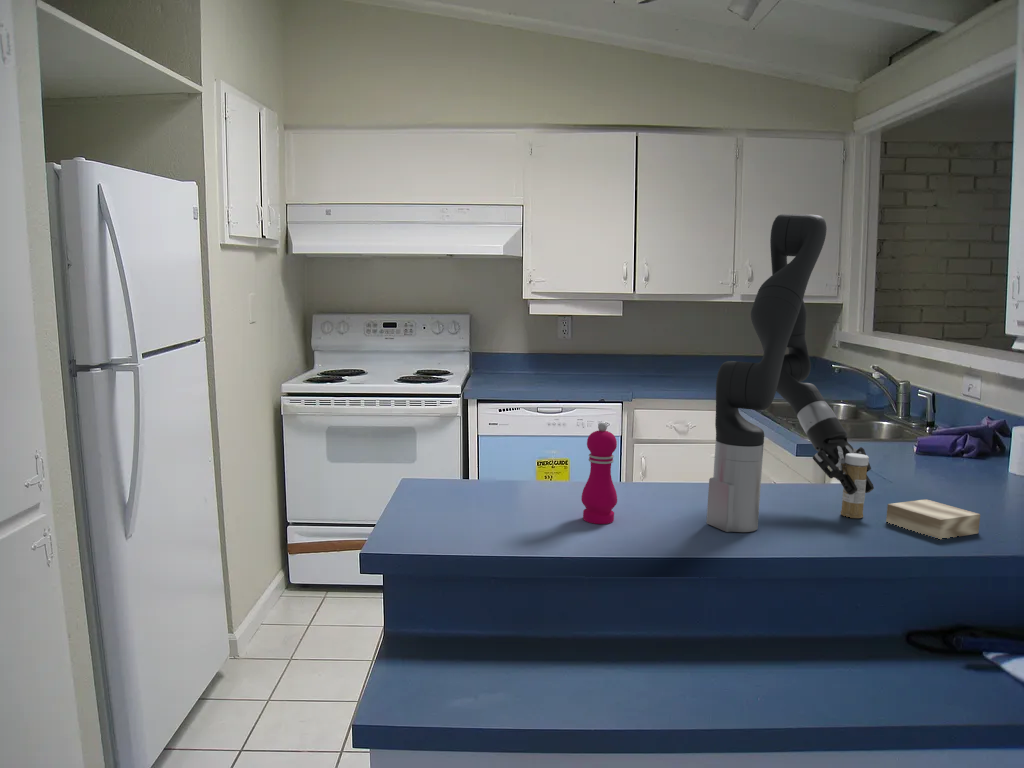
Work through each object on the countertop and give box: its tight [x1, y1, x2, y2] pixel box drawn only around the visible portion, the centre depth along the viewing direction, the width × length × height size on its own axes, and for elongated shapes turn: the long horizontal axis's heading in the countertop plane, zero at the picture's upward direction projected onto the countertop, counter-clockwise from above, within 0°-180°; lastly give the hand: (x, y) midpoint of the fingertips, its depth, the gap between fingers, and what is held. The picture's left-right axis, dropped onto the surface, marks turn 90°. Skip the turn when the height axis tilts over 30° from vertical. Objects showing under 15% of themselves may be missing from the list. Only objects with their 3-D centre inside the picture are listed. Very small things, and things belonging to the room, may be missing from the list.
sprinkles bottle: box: [840, 453, 870, 519], centre depth 165 cm, size 5×5×14 cm
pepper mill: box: [580, 422, 618, 525], centre depth 155 cm, size 7×7×20 cm
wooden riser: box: [885, 498, 981, 540], centre depth 158 cm, size 12×12×4 cm
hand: (861, 491), depth 163 cm, fingers closed on sprinkles bottle, 4 cm apart
